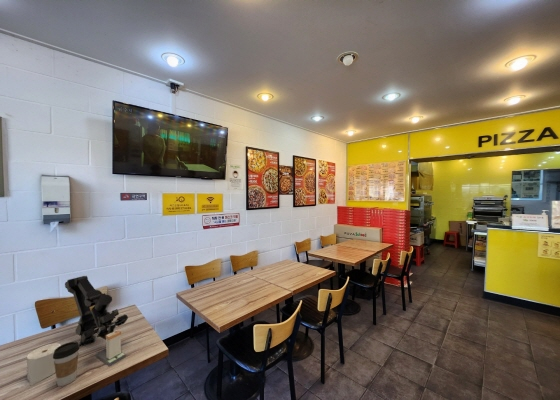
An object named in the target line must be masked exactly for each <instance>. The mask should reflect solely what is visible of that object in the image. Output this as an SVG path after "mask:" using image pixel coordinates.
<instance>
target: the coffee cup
mask: <svg viewBox="0 0 560 400" xmlns="http://www.w3.org/2000/svg"><path fill="white" fill-rule="evenodd" d="M80 347H81V346H79V342H77V341H70V342H66V343H64V344H61V346H59V347H58V348H56V349H55V351H54V354H53V358H54V360H55V361H54V365H55V376H56V384H57V387H63V386H67V385H68V384H70V383H73V381H75V380H76V378H77V373H78V372H77V370H78V369H77V368H78V361H79V354H80V353H79V350H80Z"/></svg>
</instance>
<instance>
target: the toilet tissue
mask: <svg viewBox="0 0 560 400" xmlns="http://www.w3.org/2000/svg"><path fill="white" fill-rule="evenodd" d="M61 345H62V344H60V343H49V344H46V345H43V346H40V347H38V348H36V349H35V350H32V351H31V352H30V353H28V354H27V357H26V372H27V373H26V376H27V377H26V378H27V379H26V380H27V382H29V386H33V385H35V384H37V383H39V382H41V381H43V380H45V379H47V378H48V377H51V376H52V375H54V374H56V372H55V365H54V361H55V360H54V358H53V354H54V351H55V349H56V348H58V347H59V346H61Z"/></svg>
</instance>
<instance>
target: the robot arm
mask: <svg viewBox="0 0 560 400" xmlns="http://www.w3.org/2000/svg"><path fill="white" fill-rule="evenodd" d="M64 287H65V289H66V290H67V292H69V293H70V294H72V295H73V298H74V300H75V304H76V307H77V311H78V314H79V316H80V317H79V319H78V322H77V326H76V328H75V334H76V335H77V336H80V341H79V342H78V345H79V347H82V346H86V345H89V344H90V345H91V344H92V343H95V341H96V338H101V339H104V340H105V341H106V335H108V334H110V333H112V332H114V331H115V328H116V327H120V326H122V325H124V324H125V323H126V322H127V320H129V316H128V315H127V314H123V315H120V312H119V310H118V309H117V308H116V309H113V310H112V312H109V311H108V310H107V309H108V308H109V307H110V304H111V303H112V302H113V297H112V296H111V295H109V294H106V293H105V292H104V293H102V291H100V290H99V289H96V288H95V287H94V286H93V285H92V284H91V282H90V280H89V278H88V276H87V275H82V276H77V277H73V278H70V279H67V281H65V283H64ZM90 307H92V309H91V308H90ZM119 315H120V316H119ZM117 316H118V317H117ZM116 317H117V319H116ZM114 319H116V320H114ZM95 334H96V335H95Z"/></svg>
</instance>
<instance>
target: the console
mask: <svg viewBox="0 0 560 400" xmlns="http://www.w3.org/2000/svg"><path fill="white" fill-rule="evenodd" d="M126 357H127V354H126V353H125V352H122V351H121V353H120V354H118V355H117V356H115V357H113V358H111V359H108V358H107V357H106V348H104V349H103V350H101V351H98V352H96V353H95V358H97V359H98V360H99V361H101V362H102V363H104V364H105V365H107V367H112V366H113V365H114V364H117V363H118V362H120V361H122V360H123V359H125V358H126Z"/></svg>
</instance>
